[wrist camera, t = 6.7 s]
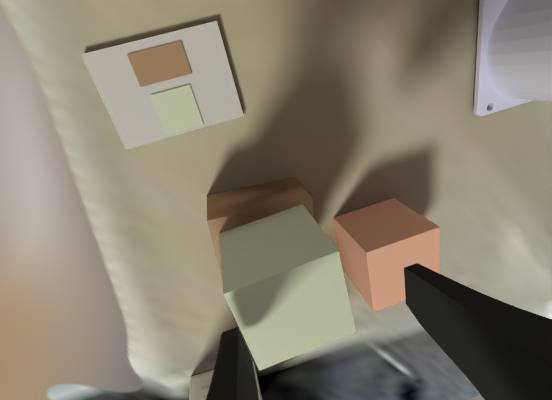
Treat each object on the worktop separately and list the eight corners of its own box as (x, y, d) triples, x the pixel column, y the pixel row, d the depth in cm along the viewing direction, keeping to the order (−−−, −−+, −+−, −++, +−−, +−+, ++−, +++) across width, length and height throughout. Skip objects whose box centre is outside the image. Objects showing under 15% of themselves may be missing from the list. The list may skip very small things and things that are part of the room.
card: (216, 22, 16) (216, 20, 15) (243, 115, 18) (243, 116, 17) (83, 55, 15) (79, 54, 14) (127, 148, 17) (125, 149, 16)
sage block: (302, 204, 17) (338, 251, 12) (319, 270, 19) (356, 332, 14) (218, 233, 16) (223, 293, 12) (246, 298, 18) (259, 370, 14)
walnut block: (293, 176, 20) (312, 198, 17) (301, 248, 23) (319, 280, 19) (207, 193, 19) (207, 220, 16) (224, 267, 22) (228, 304, 18)
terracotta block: (392, 197, 23) (439, 227, 18) (396, 249, 25) (439, 287, 20) (333, 217, 22) (366, 252, 18) (342, 268, 24) (373, 312, 20)
